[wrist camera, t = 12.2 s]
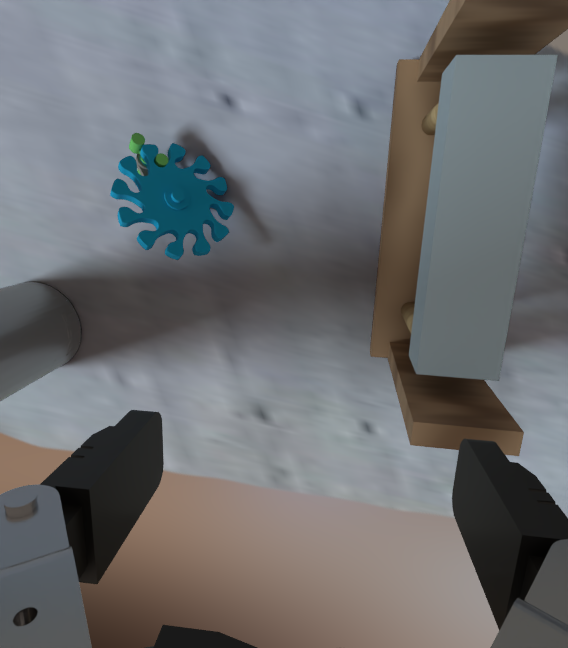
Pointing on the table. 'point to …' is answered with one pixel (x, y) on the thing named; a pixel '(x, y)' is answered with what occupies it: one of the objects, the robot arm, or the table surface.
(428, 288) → the grey rectangular block
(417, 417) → the stand
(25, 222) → the table surface
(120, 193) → the gear
